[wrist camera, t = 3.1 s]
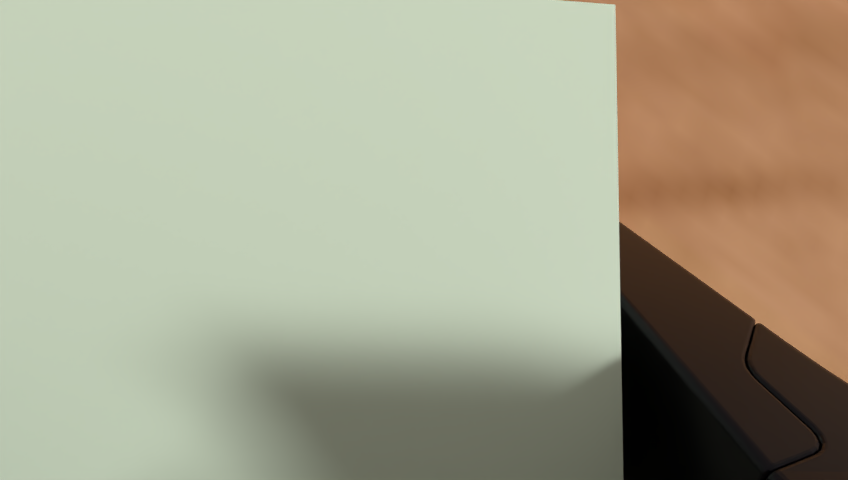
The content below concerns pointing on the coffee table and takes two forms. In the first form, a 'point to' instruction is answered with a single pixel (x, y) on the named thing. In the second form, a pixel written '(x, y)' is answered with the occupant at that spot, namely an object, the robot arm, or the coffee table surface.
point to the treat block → (309, 240)
